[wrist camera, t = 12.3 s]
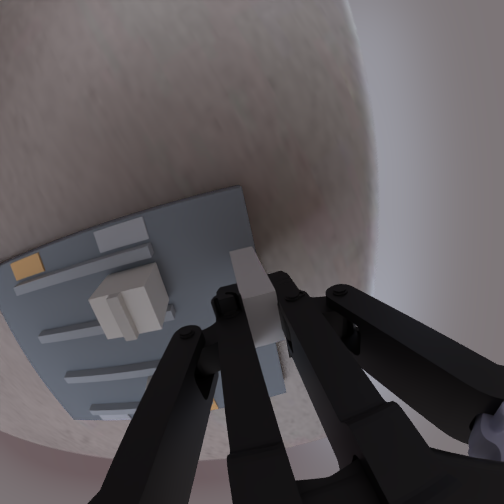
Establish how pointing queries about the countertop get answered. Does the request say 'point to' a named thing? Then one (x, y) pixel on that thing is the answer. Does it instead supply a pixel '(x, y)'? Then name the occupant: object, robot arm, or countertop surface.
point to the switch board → (112, 261)
